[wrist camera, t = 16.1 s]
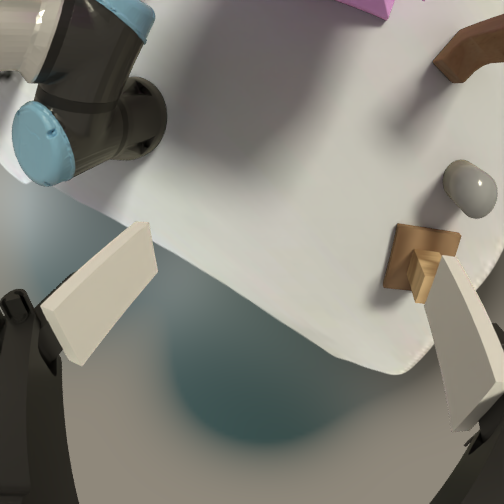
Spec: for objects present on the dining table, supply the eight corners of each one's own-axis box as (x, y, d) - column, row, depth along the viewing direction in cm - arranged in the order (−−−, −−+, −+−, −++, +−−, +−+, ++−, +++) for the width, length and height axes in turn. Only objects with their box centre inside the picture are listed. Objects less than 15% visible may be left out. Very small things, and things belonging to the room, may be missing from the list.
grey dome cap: (439, 197, 41) (453, 214, 35) (446, 155, 37) (463, 167, 31) (473, 204, 39) (490, 221, 33) (481, 164, 36) (501, 177, 30)
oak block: (406, 273, 47) (415, 302, 41) (413, 248, 45) (424, 275, 38) (431, 276, 46) (442, 305, 40) (439, 252, 44) (453, 279, 37)
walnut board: (382, 283, 51) (383, 287, 50) (397, 223, 45) (398, 226, 44) (439, 289, 48) (441, 293, 47) (458, 232, 42) (461, 236, 41)
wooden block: (452, 84, 31) (514, 86, 16) (430, 62, 31) (486, 50, 16) (480, 50, 27) (546, 41, 12) (460, 28, 26) (520, 7, 11)
